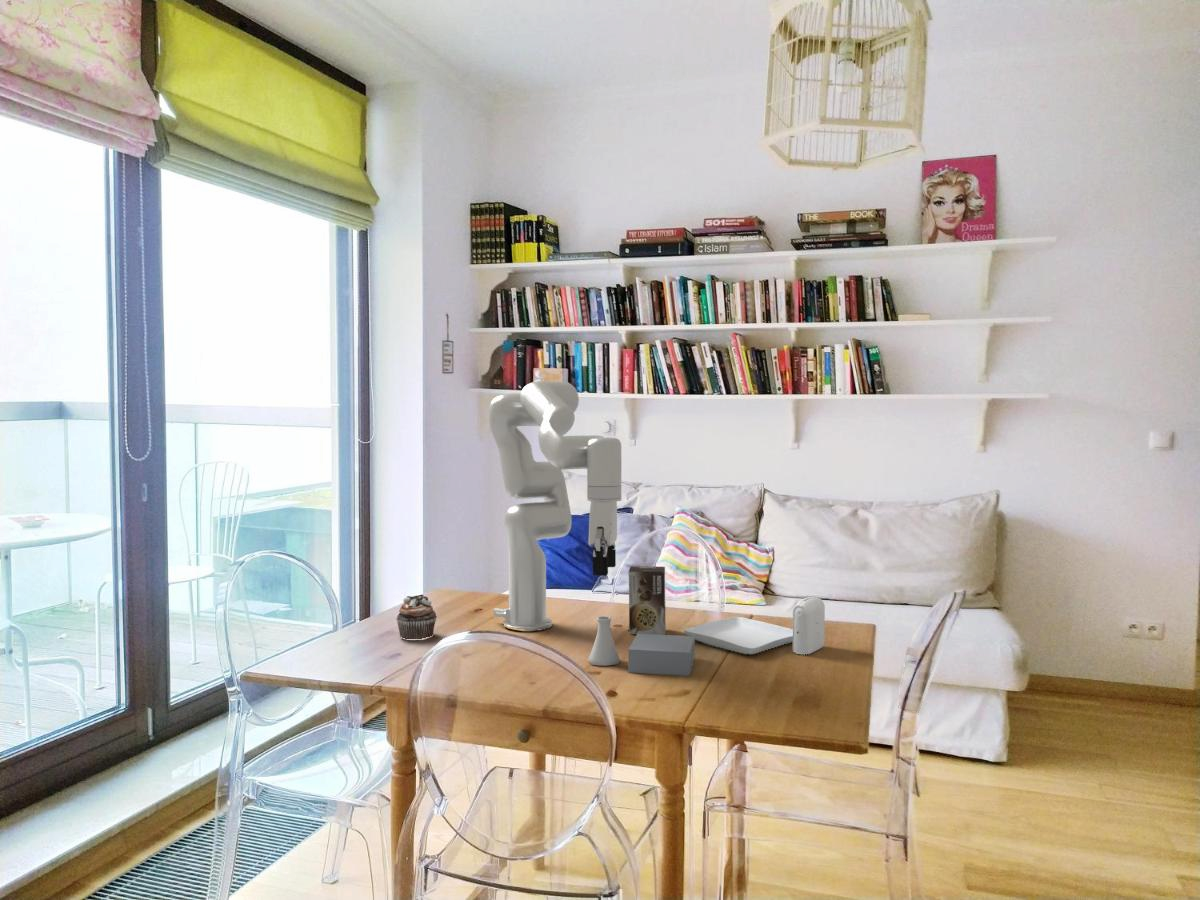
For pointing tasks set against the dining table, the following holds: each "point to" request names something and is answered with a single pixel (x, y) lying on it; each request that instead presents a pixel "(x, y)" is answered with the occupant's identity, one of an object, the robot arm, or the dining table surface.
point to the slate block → (662, 654)
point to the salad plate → (741, 635)
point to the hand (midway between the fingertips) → (604, 570)
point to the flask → (604, 645)
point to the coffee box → (647, 600)
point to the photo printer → (808, 625)
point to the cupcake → (416, 618)
